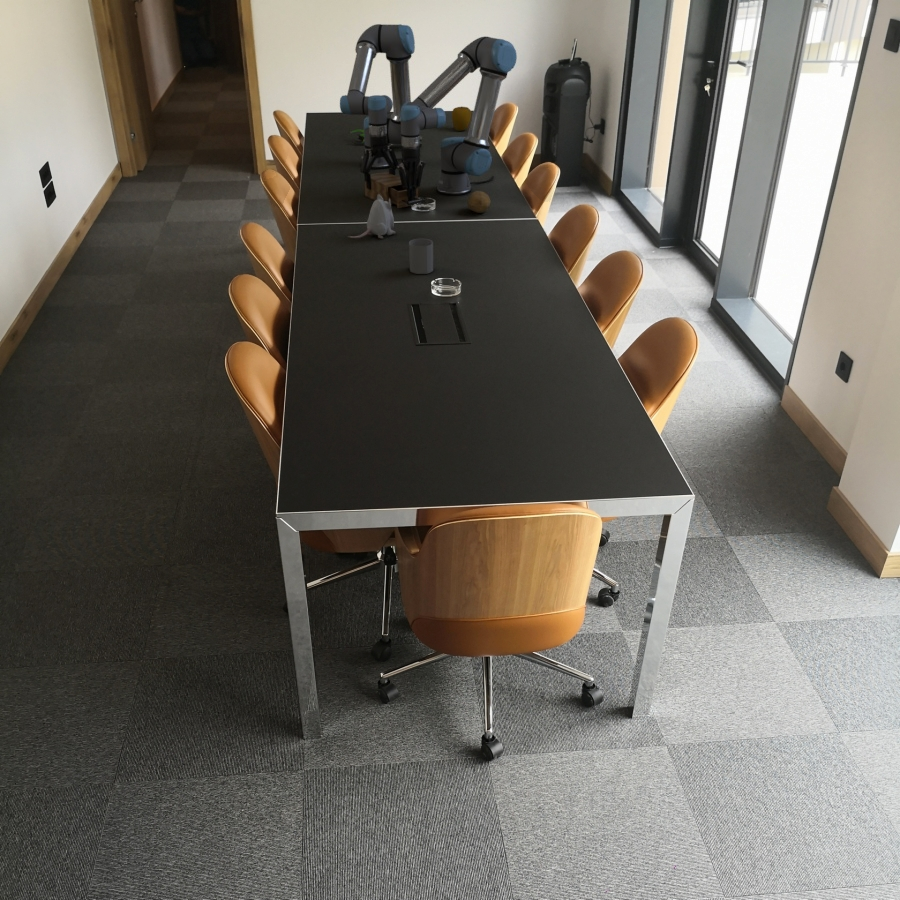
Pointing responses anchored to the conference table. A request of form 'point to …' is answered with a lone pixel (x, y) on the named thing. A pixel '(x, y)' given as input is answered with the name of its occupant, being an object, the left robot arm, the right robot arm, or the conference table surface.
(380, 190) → the cabinet
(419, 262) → the cup
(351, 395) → the conference table surface
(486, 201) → the potato
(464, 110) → the apple
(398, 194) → the drawer
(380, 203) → the toy
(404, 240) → the conference table surface
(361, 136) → the green leafy plant
